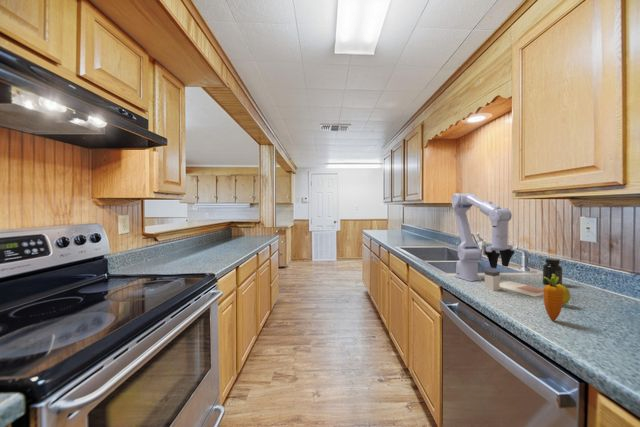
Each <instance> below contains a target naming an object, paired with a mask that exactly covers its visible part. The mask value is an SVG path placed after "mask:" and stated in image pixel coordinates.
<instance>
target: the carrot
mask: <svg viewBox="0 0 640 427" xmlns="http://www.w3.org/2000/svg"><path fill="white" fill-rule="evenodd" d="M544 279H546V280H547V281H548V282H549V283H550V285H544V287H543V288H542V289H543V292H544V295H543V303H544V307H545V311H546V313H547V315H548V317H549V319H550V320H551V321H552V322H555V321H556V320H557V319H558V317H559V316H560V314H561V312H562V309H563V308H562V307H563V305H564V304H563V293H564V291H563V289H562V288H561V287H559V286H556V284H557V282H558V280H559V277H556V275H555V274H552V277H551V280H549V279H548V278H547V277H544Z"/></svg>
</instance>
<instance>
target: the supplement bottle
mask: <svg viewBox="0 0 640 427" xmlns="http://www.w3.org/2000/svg"><path fill="white" fill-rule="evenodd" d="M560 262H561V261H560V259H557V258H545V263H544V264H543V265H542V284H543V285H544V286H546V285H550V283H549V282H548V281H547V280H546V279H544V277H547V278H548V279H549V280H551V277H552V274H555V275H556V277H559V280H558V282H557V284H556V285H558V284H561V285H563V267H562V266H561V265H560Z"/></svg>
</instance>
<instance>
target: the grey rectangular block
mask: <svg viewBox="0 0 640 427" xmlns="http://www.w3.org/2000/svg"><path fill="white" fill-rule="evenodd" d="M500 279H501V278H500V271H498V270H494V269H493V270H492V269H487V270H484V289H486V290H488V291H492V292H495V291H500V283H501V281H500Z"/></svg>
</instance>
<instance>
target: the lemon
mask: <svg viewBox="0 0 640 427" xmlns="http://www.w3.org/2000/svg"><path fill="white" fill-rule="evenodd" d="M556 286H559V287H561V288H562V289H563V291H564V293H563V304H562V305H566V304H568V303H569V301H570V299H571V292H570V290H569V288H567V287H566V286H565V285H563V284H562V285H561V284H558V285H556Z"/></svg>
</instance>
